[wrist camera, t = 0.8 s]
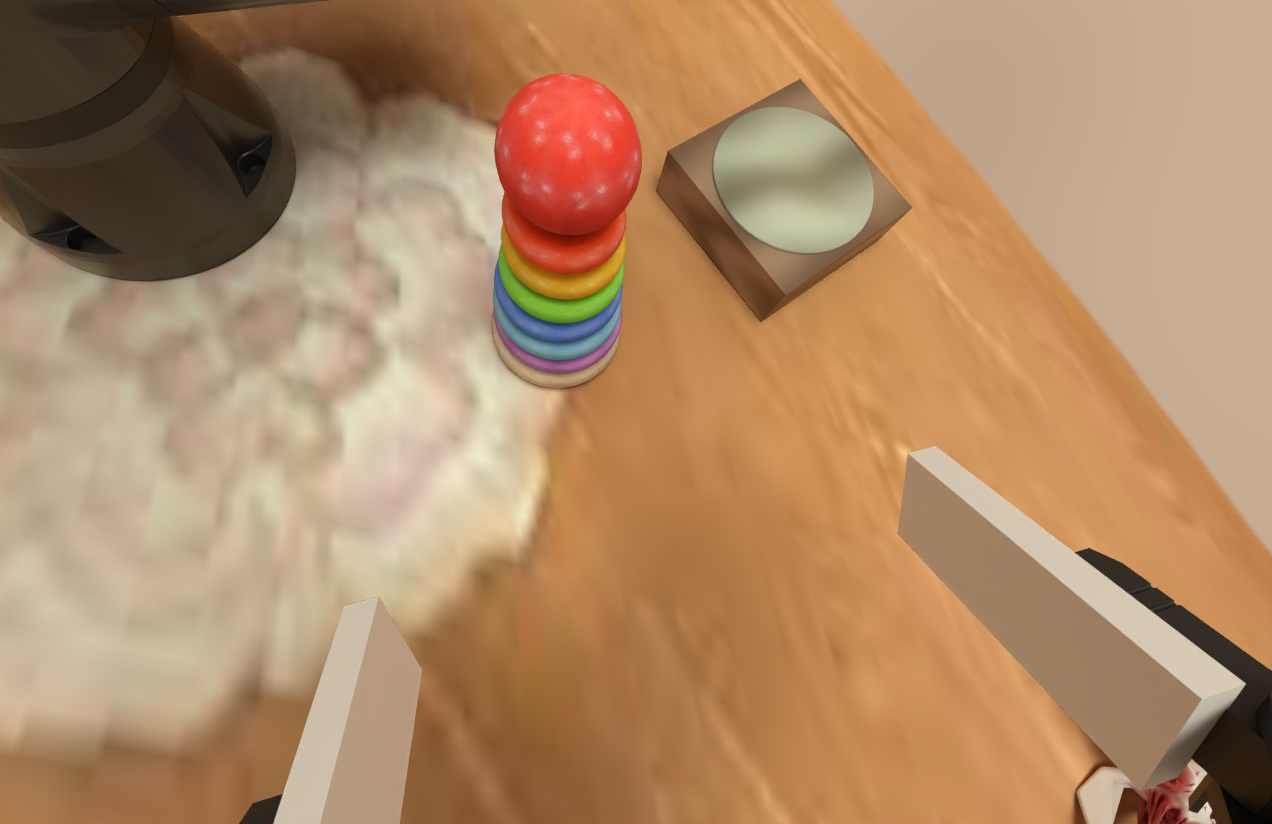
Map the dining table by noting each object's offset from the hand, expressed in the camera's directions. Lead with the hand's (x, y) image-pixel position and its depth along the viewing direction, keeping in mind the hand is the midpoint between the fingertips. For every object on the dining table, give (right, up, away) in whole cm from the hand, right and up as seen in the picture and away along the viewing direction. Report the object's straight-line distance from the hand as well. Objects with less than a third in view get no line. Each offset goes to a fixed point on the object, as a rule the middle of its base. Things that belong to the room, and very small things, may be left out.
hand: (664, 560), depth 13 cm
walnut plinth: (+9, +18, +26) cm, 33 cm away
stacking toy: (-6, +9, +21) cm, 24 cm away
